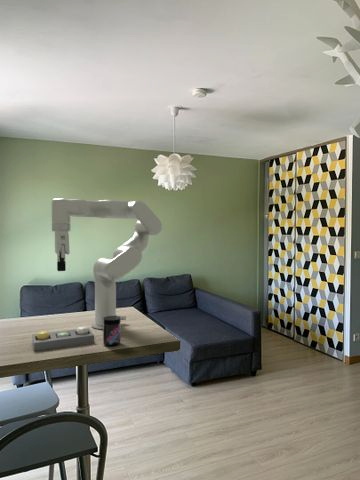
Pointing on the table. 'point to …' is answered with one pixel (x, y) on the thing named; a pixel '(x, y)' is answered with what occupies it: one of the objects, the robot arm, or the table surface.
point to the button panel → (62, 340)
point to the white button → (82, 330)
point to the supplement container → (111, 330)
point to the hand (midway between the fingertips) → (61, 270)
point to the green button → (62, 334)
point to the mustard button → (42, 335)
